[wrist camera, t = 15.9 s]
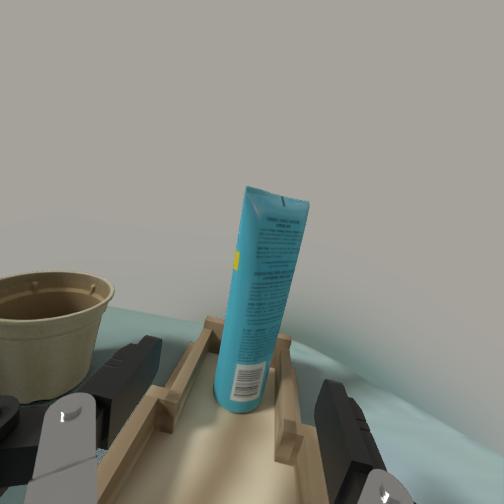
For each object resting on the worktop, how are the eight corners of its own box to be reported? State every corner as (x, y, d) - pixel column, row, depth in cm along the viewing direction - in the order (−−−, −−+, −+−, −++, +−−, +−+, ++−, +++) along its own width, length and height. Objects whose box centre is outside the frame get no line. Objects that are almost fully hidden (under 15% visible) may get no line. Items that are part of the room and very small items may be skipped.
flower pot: (31, 338, 26) (30, 263, 24) (123, 347, 27) (130, 278, 25) (-73, 420, 17) (-90, 311, 15) (73, 428, 18) (77, 329, 16)
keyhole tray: (-8, 696, 9) (-16, 619, 8) (189, 348, 29) (195, 312, 28) (336, 809, 8) (384, 743, 7) (293, 374, 29) (303, 339, 28)
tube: (246, 363, 27) (286, 196, 23) (278, 392, 24) (332, 205, 20) (190, 393, 22) (228, 182, 17) (222, 435, 19) (279, 192, 14)
